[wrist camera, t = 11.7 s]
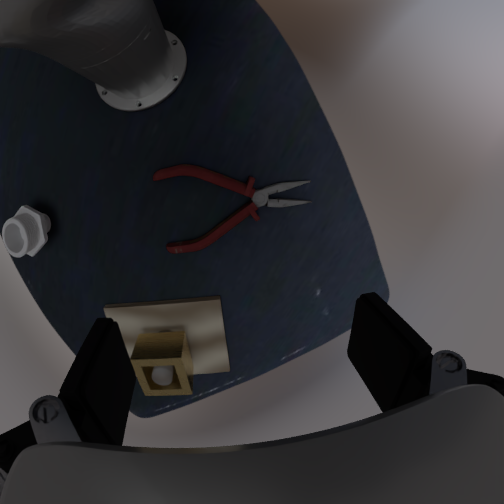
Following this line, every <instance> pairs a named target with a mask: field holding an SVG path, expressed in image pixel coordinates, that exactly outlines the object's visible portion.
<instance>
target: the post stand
mask: <svg viewBox="0 0 504 504" xmlns="http://www.w3.org/2000/svg"><path fill="white" fill-rule="evenodd" d="M104 311H105V314H106V317H107V318H112V319H113V320H114V321H116V322H117V323H118V325H119V328H120V331H121V334H122V337H123V340H124V343H125V346H126V349H127V352H128V355H129V357H130V358H131V355H132V352H133V349H134V346H135V343H136V340H137V337H138V335H139V334H146V333H162V332H176V331H185V334H186V338H187V342H188V347H189V351H190V355H191V358H192V362H193V366H194V369H193V374H205V373H216V372H227V371H230V365H229V358H228V352H227V345H226V338H225V331H224V323H223V316H222V308H221V301H220V295H219V296H209V297H199V298H188V299H177V300H165V301H152V302H138V303H123V304H107V305H105V307H104ZM173 370H174V365H169V366H154V368H153V372H152V380H153V381H154V382H155V383H157V384H159V385H164V386H165V385H169V384H170V383H171V382H172V377H173Z"/></svg>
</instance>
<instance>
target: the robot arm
mask: <svg viewBox="0 0 504 504" xmlns="http://www.w3.org/2000/svg"><path fill="white" fill-rule="evenodd" d="M174 44H176V45H174ZM0 47H7V48H19V49H26V50H30V51H34V52H37V53H40V54H42V55H45V56H47V57H49V58H51V59H53V60H55V61H57V62H59V63H61V64H63V65H64V66H66V67H68V68H70V69H71V70H73V71H75V72H77V73H79V74H80V75H82V76H84V77H86V78H87V79H89V80H91V81H93V82H94V83H95V84H96V88H97V91H98V93H99V95H100V97H101V98H102V99H103V100H104V101H105V102H106V103H107V104H108V105H110V106H112V107H113V108H116V109H118V110H122V111H129V112H135V111H142V110H146V109H149V108H152V107H154V106H156V105H158V104H160V103H161V102H163V101H164V100H166V99H167V98H168V97H169V96H170V95H171V94H172V93H173V92H174V91H175V90H176V89H177V87H178V86H179V85H180V83H181V81H182V79H183V77H184V75H185V71H186V67H187V56H186V51H185V48H184V46H183V44H182V42H181V41H180V40H179V39H178V37H177V36H176V35H174V34H173V33H171V32H169V31H167V30H164V28H163V25H162V22H161V20H160V17H159V15H158V12H157V9H156V7H155V4H154V2H153V0H0ZM174 79H177V81H174ZM106 93H107V94H106ZM105 94H106V95H105ZM140 103H142V105H141V106H140V107H139V104H140ZM431 350H432V348H431V346H430V345H428V343H427V342H425V340H424V339H423V338H422V337H421V336H420V335H419V334H418V333H417V332H416V331H415V330H414V329H413V328H412V327H411V326H410V325H409V324H408V323H407V322H406V321H404V320H403V318H401V317H400V316H399V315H398V314H397V313H396V312H395V311H394V310H393V309H392V308H391V307H390V306H389V305H388V304H387V303H386V302H385V301H384V300H383V299H382V298H381V297H380V296H379V295H377V294H376V293H375V292H372V293H366V294H362V295H361V296H360V298H358V299H357V300H356V305H355V311H354V317H353V323H352V329H351V334H350V340H349V344H348V349H347V354H348V357H349V359H350V361H351V362H352V364H353V365H354V367H355V369H356V370H357V372H358V373H359V375H360V377H361V378H362V380H363V381H364V383H365V385H366V386H367V388H368V389H369V391H370V392H371V394H372V396H373V398H374V399H375V401H376V402H377V404H378V405H379V407H380V409H381V411H382V412H383V413H380V414H377V415H375V416H372V417H369V418H366V419H362V420H359V421H356V422H353V423H349V424H346V425H342V426H339V427H335V428H331V429H327V430H323V431H319V432H314V433H310V434H306V435H301V436H296V437H291V438H285V439H279V440H274V441H267V442H260V443H253V444H244V445H234V446H223V447H207V448H149V447H148V448H147V447H131V446H122V443H123V438H124V433H125V427H126V422H127V417H128V413H129V408H130V404H131V399H132V395H133V391H134V386H135V382H136V374H135V371H134V368H133V365H132V363H131V360H130V357H129V355H128V352H127V349H126V346H125V343H124V340H123V337H122V334H121V331H120V328H119V325H118V323H117V322H116V321H114V320H113V319H112V318H97V319H96V321H95V323H94V325H93V326H92V328H91V330H90V332H89V334H88V335H87V337H86V339H85V341H84V343H83V345H82V347H81V348H80V350H79V352H78V354H77V356H76V358H75V360H74V362H73V364H72V366H71V368H70V370H69V372H68V374H67V376H66V378H65V380H64V382H63V384H62V386H61V389H60V393H59V395H58V397H55V396H51V395H46V396H43V397H40V398H38V399H37V400H36V401H35V402H34V403H33V404H32V405H31V407H30V410H29V419H30V420H29V421H27V422H25V423H23V424H21V425H19V426H17V427H16V428H13V429H11V430H9V431H7V432H5V433H3V434H1V435H0V504H504V378H503V377H500V376H498V375H493V374H488V373H483V372H478V371H474V370H469V369H466V363H465V360H464V359H463V357H461V356H460V355H459V354H457V353H455V352H453V351H449V350H442V351H439V352H437V353H435V354H434V356H433V355H432V354H431Z"/></svg>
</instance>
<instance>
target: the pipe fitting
mask: <svg viewBox="0 0 504 504" xmlns="http://www.w3.org/2000/svg"><path fill="white" fill-rule="evenodd" d="M50 228H51V221H50V218H49V217H48V215H46V214H44V213H41V212H39V211H37V210H35V209H33V208H31V207H30V206H28V205H24V206H21V208H20V209H19V210H18V212H17V213H16V214H15V216H14V217H12V218H10V219H8V220H7V221H6V222H5V224H4V226H3V230H2V237H3V242H4V245H5V247H6V249H7V251H8V252H9V253H10V254H11V255H12V256H14V257H22V256H23V255H25V254H26V253H27V254H28V255H30V256H34V255H35V254H37V253H38V251H39V250H40V249H41V248H42V247H43V246H44V244H45V243H46V242H47V241H48V236H47V232H48V231H49V230H50Z"/></svg>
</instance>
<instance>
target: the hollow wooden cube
mask: <svg viewBox="0 0 504 504" xmlns="http://www.w3.org/2000/svg"><path fill="white" fill-rule="evenodd" d="M130 360H131V363H132V365H133V368H134V371H135V374H136V376H137V378H138V381H139V383H140V385H141V387H142V390H143V392H144V394H145V396H159V395H188V394H192V392H193V369H194V366H193V362H192V358H191V355H190V351H189V347H188V342H187V338H186V334H185V331H176V332H162V333H146V334H139V335H138V337H137V340H136V343H135V346H134V349H133V352H132V355H131V358H130ZM169 365H174V370H173V377H172V382H171V383H170V384H169V385H165V386H164V385H159V384H157V383H155V382H154V381H153V380H152V372H153V368H154V366H169Z"/></svg>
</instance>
